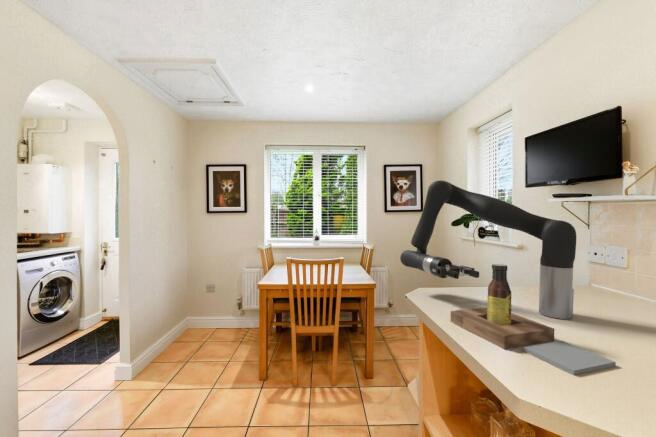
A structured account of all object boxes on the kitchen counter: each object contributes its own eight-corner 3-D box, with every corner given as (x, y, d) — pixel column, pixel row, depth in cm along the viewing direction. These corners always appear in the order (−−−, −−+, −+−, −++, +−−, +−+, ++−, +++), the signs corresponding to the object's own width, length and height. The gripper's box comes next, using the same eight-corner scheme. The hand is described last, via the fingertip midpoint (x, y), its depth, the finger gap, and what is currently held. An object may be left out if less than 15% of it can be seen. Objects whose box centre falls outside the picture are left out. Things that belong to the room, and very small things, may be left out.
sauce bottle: (514, 336, 86) (516, 267, 86) (490, 334, 88) (492, 266, 87) (505, 327, 93) (507, 263, 92) (483, 325, 94) (485, 262, 94)
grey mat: (561, 344, 81) (561, 340, 81) (615, 366, 70) (615, 361, 70) (522, 350, 77) (522, 346, 77) (573, 375, 66) (573, 370, 66)
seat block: (494, 316, 102) (494, 306, 102) (554, 341, 83) (554, 328, 83) (450, 321, 97) (450, 311, 97) (504, 349, 78) (504, 335, 78)
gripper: (421, 256, 115) (451, 264, 99) (452, 256, 119) (485, 263, 103) (420, 276, 115) (450, 287, 99) (451, 275, 119) (484, 285, 104)
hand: (468, 275), depth 101 cm, fingers open, 8 cm apart
